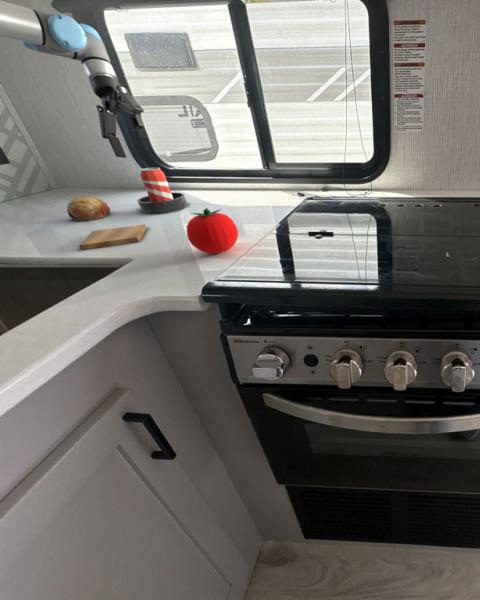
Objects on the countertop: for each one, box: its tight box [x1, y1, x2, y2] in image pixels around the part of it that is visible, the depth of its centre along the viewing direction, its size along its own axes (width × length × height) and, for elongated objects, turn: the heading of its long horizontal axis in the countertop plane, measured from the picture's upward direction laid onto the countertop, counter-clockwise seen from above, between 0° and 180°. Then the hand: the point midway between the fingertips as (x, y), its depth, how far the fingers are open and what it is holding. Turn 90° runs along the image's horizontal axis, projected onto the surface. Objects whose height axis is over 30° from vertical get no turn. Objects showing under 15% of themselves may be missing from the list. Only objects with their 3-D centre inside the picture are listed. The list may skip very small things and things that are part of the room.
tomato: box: [186, 207, 239, 255], centre depth 76 cm, size 10×10×10 cm
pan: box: [136, 191, 188, 215], centre depth 110 cm, size 13×13×4 cm
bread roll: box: [66, 195, 111, 222], centre depth 102 cm, size 10×10×8 cm
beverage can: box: [139, 166, 173, 202], centre depth 107 cm, size 6×6×12 cm
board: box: [78, 224, 147, 250], centre depth 87 cm, size 12×11×1 cm
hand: (132, 148), depth 107 cm, fingers open, 13 cm apart
